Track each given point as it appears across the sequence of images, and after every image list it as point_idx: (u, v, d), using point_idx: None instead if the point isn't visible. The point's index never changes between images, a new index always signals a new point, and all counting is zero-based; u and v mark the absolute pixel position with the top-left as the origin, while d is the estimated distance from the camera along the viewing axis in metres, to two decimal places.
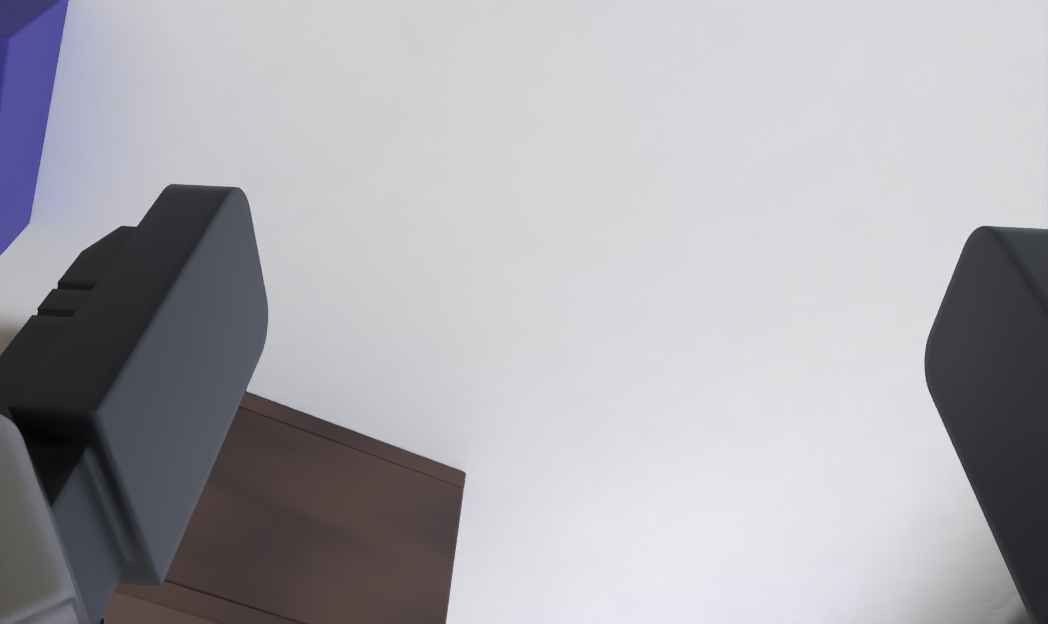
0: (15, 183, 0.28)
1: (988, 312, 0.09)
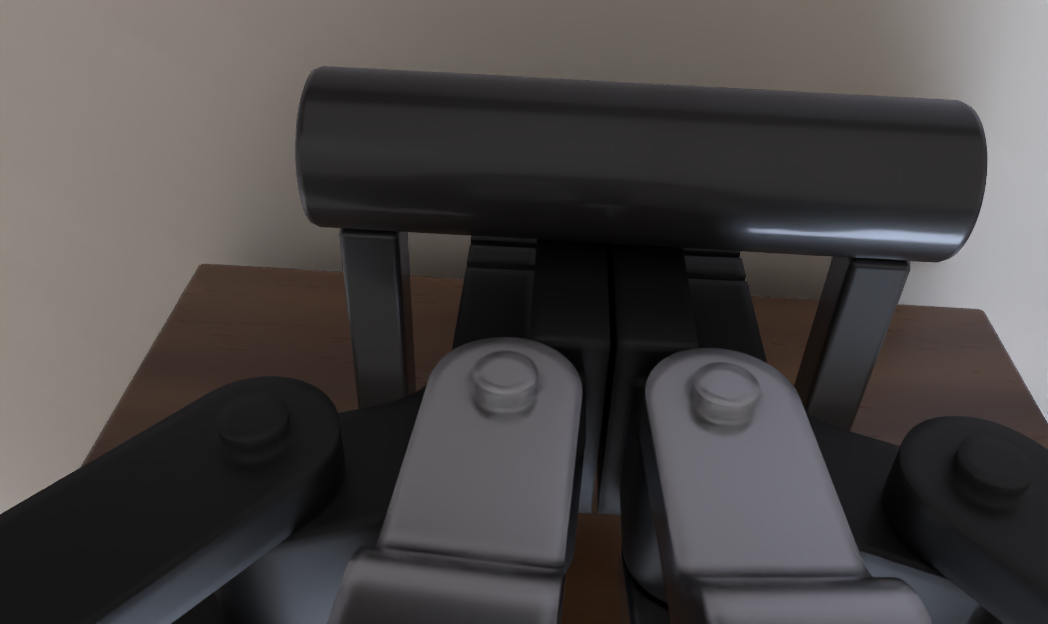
0: None
1: None
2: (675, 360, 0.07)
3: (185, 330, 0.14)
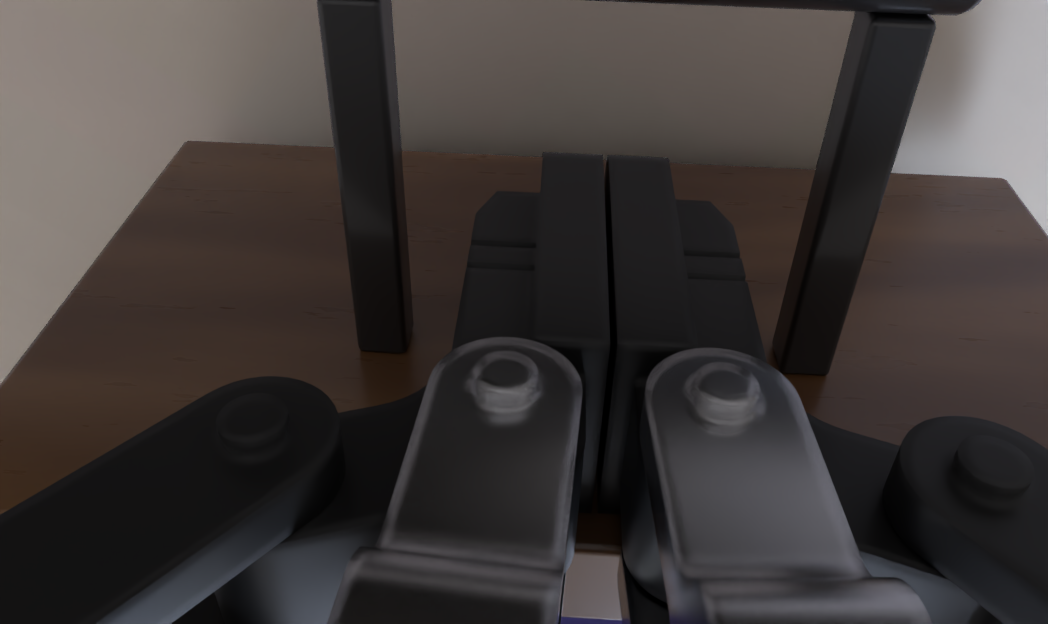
0: None
1: None
2: (675, 360, 0.07)
3: (168, 196, 0.13)
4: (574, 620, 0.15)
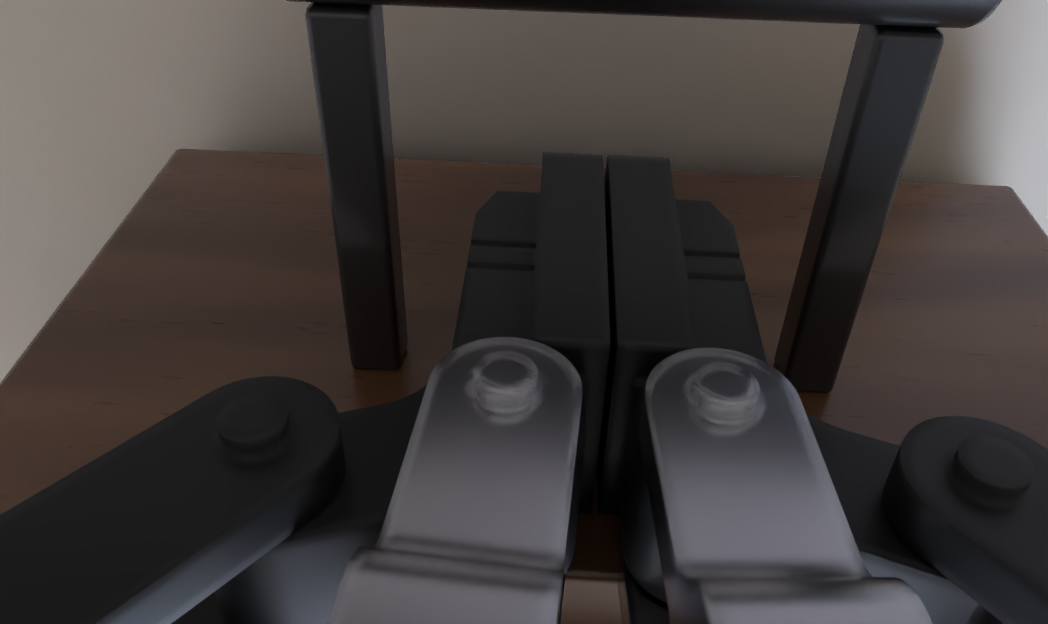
0: None
1: None
2: (675, 360, 0.07)
3: (159, 206, 0.13)
4: None
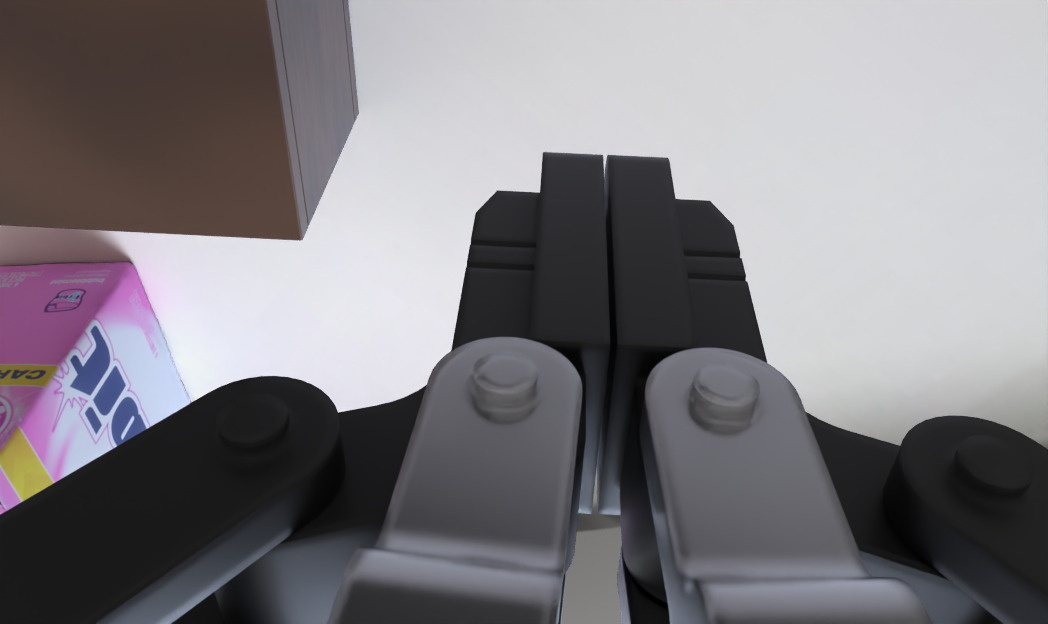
0: None
1: None
2: (675, 360, 0.07)
3: None
4: None
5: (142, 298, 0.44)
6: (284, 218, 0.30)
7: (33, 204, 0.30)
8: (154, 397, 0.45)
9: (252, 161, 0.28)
